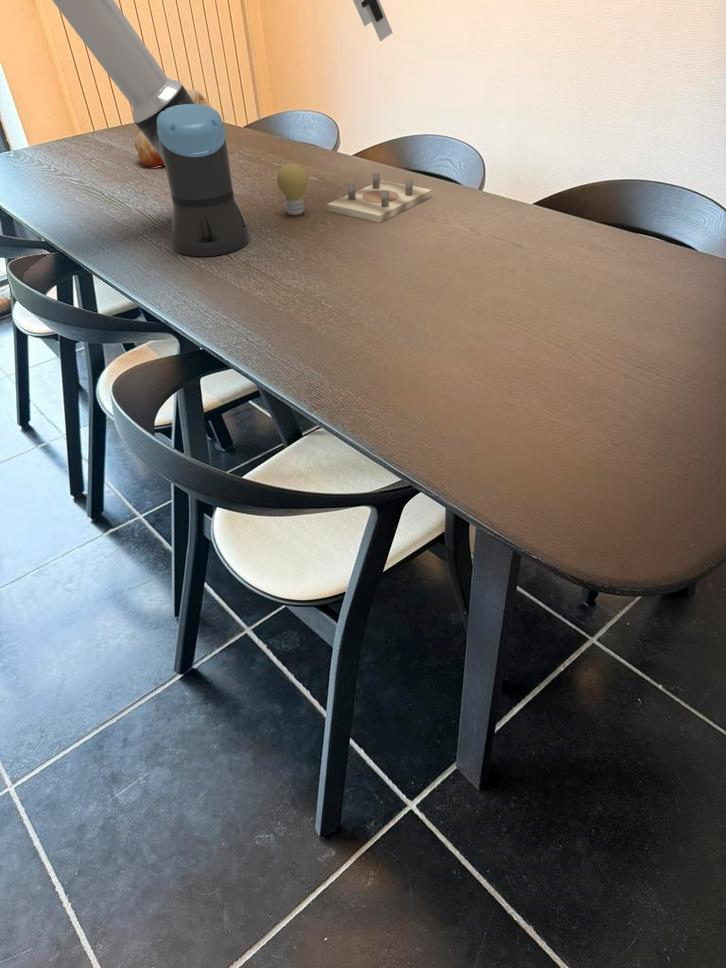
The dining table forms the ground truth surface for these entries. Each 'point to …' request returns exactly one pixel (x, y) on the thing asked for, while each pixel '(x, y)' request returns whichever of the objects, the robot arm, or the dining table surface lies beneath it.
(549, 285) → the dining table surface
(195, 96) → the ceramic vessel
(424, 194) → the pin nest
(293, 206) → the light bulb
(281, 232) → the dining table surface
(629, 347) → the dining table surface
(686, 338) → the dining table surface
